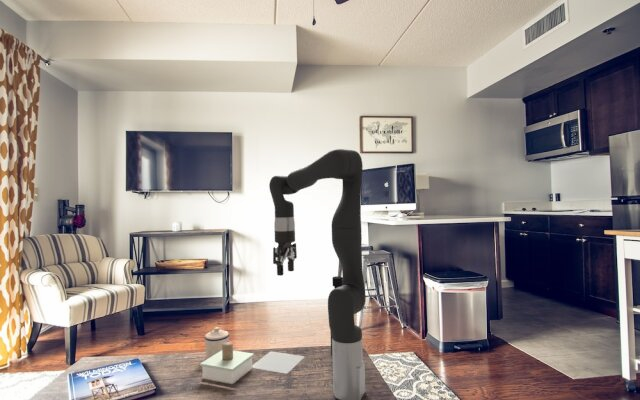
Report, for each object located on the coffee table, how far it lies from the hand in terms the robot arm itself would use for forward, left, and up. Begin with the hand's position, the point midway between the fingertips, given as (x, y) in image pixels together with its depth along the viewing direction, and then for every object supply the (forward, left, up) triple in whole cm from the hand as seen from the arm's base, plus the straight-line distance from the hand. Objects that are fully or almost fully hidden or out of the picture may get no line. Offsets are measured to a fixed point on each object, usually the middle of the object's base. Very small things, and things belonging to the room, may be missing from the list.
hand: (285, 273), depth 138 cm
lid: (+15, +16, -28) cm, 36 cm away
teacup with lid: (+28, +4, -33) cm, 44 cm away
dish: (+15, +16, -33) cm, 40 cm away
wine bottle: (-16, -12, -33) cm, 39 cm away
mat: (+3, +2, -33) cm, 33 cm away
